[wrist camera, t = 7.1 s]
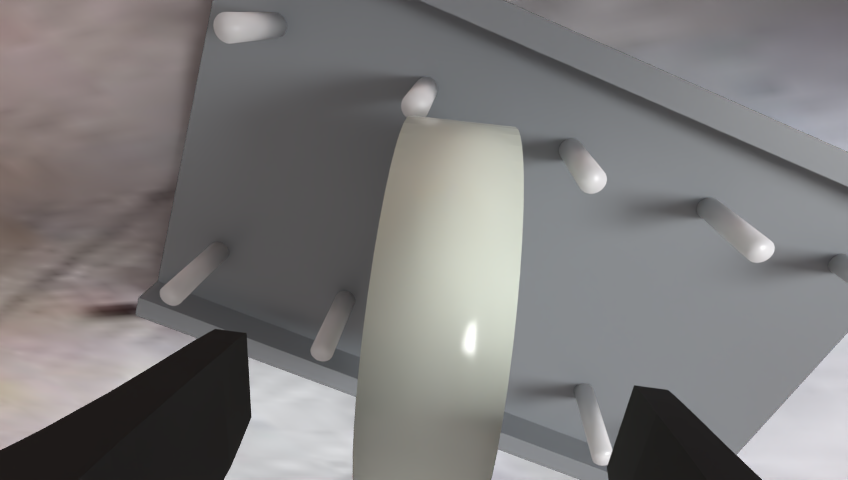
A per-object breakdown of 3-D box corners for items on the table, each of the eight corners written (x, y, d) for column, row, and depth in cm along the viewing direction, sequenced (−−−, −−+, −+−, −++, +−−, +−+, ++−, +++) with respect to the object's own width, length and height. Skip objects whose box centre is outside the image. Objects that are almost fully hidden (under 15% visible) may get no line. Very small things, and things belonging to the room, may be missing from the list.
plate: (508, 85, 15) (545, 240, 7) (468, 333, 19) (460, 612, 11) (425, 76, 15) (358, 218, 7) (404, 325, 19) (348, 595, 11)
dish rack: (941, 196, 16) (1077, 249, 13) (687, 484, 22) (730, 577, 18) (247, -110, 15) (172, -152, 11) (165, 288, 20) (98, 348, 17)
